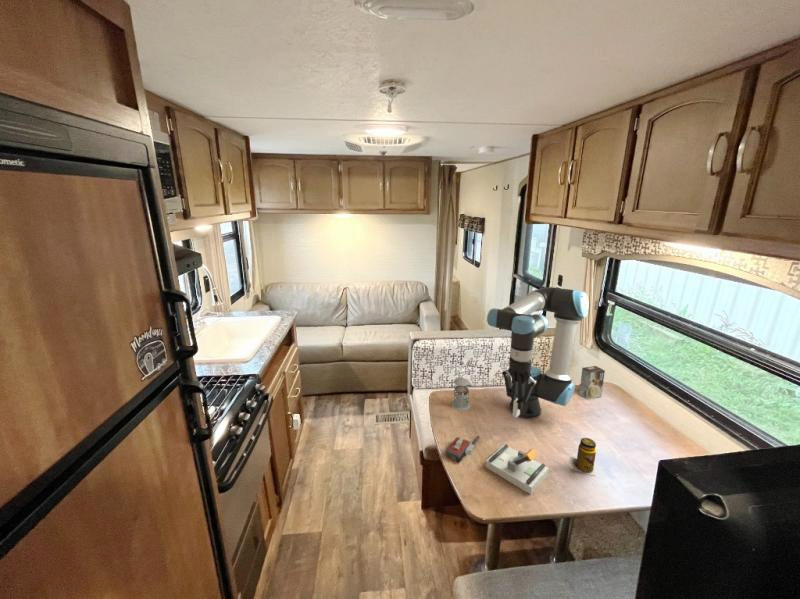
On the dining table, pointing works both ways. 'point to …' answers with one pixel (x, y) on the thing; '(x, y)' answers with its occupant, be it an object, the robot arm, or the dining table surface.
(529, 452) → the lever
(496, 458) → the panel
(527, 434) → the dining table surface
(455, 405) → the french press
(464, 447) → the walkie-talkie
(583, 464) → the condiment
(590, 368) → the coffee box
